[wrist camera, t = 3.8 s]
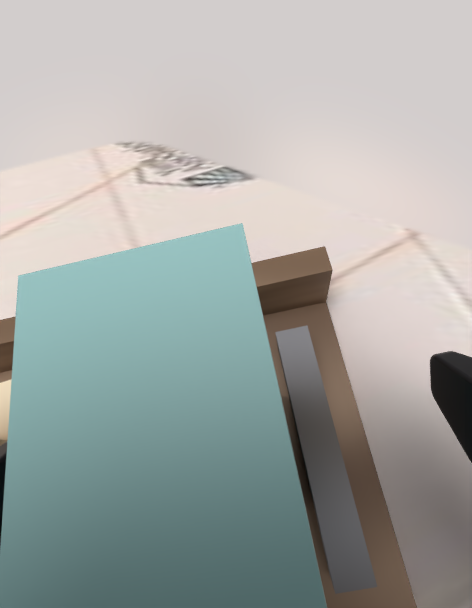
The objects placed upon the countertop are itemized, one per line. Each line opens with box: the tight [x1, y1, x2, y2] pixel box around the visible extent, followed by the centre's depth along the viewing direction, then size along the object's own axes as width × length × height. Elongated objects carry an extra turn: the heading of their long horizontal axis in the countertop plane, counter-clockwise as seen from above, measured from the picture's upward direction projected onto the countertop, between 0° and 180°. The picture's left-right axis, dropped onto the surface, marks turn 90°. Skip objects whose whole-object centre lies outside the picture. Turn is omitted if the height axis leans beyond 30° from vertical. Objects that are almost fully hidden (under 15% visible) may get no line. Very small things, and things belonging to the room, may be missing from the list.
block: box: [0, 223, 327, 608], centre depth 9 cm, size 4×2×12 cm, turn 10°
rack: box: [0, 247, 417, 608], centre depth 12 cm, size 13×16×6 cm
